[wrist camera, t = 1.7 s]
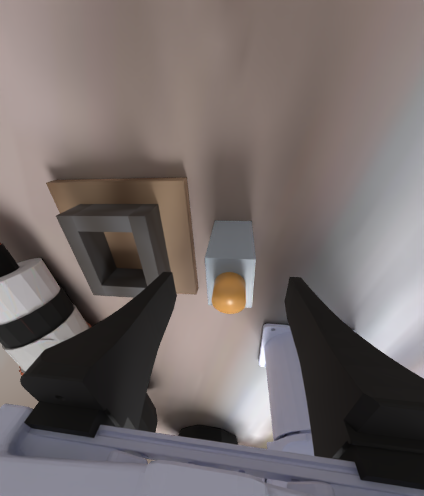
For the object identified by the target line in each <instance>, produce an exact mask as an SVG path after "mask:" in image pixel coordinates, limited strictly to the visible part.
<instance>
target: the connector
mask: <svg viewBox="0 0 424 496" xmlns="http://www.w3.org/2000/svg"><path fill="white" fill-rule="evenodd" d="M255 264H256V256H255V247H254V238H253V229H252V221H215V222H214V226H213V230H212V233H211V237H210V241H209V244H208V248H207V252H206V255H205V267H206V280H207V294H208V305H213V306H214V307H215V308H216V309H217V310H218V311H220V312H223V313H227V314H234V313H238V312H240V311H242V310H243V309H244V308H245V307H248V308H252V299H253V287H254V276H255Z"/></svg>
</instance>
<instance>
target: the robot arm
mask: <svg viewBox="0 0 424 496" xmlns="http://www.w3.org/2000/svg"><path fill="white" fill-rule="evenodd" d="M176 297H177V294H176V289H175V283H174V278H173V273H172V272H162V273H161V274H160V275H159V276H158V277H157V278H156V279H155V280H154V281H153V282H152V283H150V284H149V285H148V286H147V287H146V288H145V289H144V290H143V291H142V292H141V293H139V294H138V295H137V296H136V297H134V298H133V299H132V300H131V301H130V302H128V303H127V304H126V305H124V306H123V307H122V308H120V309H119V310H118V311H116V312H115V313H113V314H112V315H110V316H109V317H107V318H105V319H104V320H102V321H100V322H99V323H97V324H96V325H94V326H92V327H90V328H89V329H87V330H85V331H83V332H81V333H79V334H77V335H75V336H73V337H71V338H69V339H67V340H65V341H63V342H61V343H58V344H56V345H54V346H52V347H50V348H47V349H45V350H44V351H43V352H42V353H41V354H40V356H39V357H38V358H37V359H36V360H35V361H34V362H33V364H32V365H31V366H30V367H29V368H28V369H27V371H26V372H25V373H24V374H23V375H22V376H21V379H20V382H21V385H22V386H23V387H24V388H25V389H26V390H27V391H28V392H29V393H30V394H31V395H32V396H33V397H35V399H37V400H38V401H39V403H38V404H37V405H36V407H35V408H34V409H32V408H29V407H25V406H19V405H12V404H4V405H2V407H1V408H0V496H424V379H423V378H422V377H420V376H418V375H417V374H415V373H413V372H412V371H410V370H408V369H407V368H405V367H404V366H402V365H400V364H399V363H397V362H396V361H394V360H393V359H391V358H390V357H388V356H387V355H385V354H384V353H382V352H381V351H380V350H378V349H377V348H375V347H374V346H373V345H371V344H370V343H369V342H367V341H366V340H365V339H363V338H362V337H361V336H359V335H358V334H357V332H356V331H355V330H352V329H351V328H350V327H348V326H347V325H346V324H345V323H344V322H343V321H341V320H340V319H339V318H338V317H337V316H336V315H335V314H334V313H333V312H332V311H331V310H330V309H329V308H328V307H327V306H326V305H325V304H324V303H323V302H322V301H321V300H320V299H319V298H318V297H317V296H316V294H315V293H314V292H313V291H312V290H311V289H310V288H309V287H308V285H307V284H306V283H305V282H304V281H303V280H302V279H301V278H299V277H290V278H289V283H288V288H287V293H286V298H285V307H286V314H287V319H288V322H289V325H280V324H265V325H264V326H263V333H262V340H261V347H260V355H259V365H260V366H261V367H266V371H267V381H268V390H269V400H270V410H271V419H272V429H273V439H274V441H273V442H267V449H263V448H256V447H249V446H243V445H236V444H229V443H222V442H216V441H209V440H202V439H195V438H188V437H182V436H175V435H168V434H161V433H154V432H148V431H141V430H138V428H139V423H140V419H141V414H142V410H143V405H144V401H145V397H146V392H147V388H148V384H149V380H150V376H151V373H152V369H153V365H154V362H155V358H156V355H157V351H158V348H159V345H160V342H161V340H162V337H163V335H164V332H165V330H166V327H167V325H168V322H169V320H170V317H171V314H172V312H173V309H174V305H175V301H176ZM144 458H145V459H144ZM146 459H151V460H155V461H151V462H150V463H149V464H148V463H147V460H146Z"/></svg>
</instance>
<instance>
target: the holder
mask: <svg viewBox="0 0 424 496" xmlns="http://www.w3.org/2000/svg"><path fill="white" fill-rule="evenodd" d="M46 184H47V186H48V188H49V190H50V193H51V195H52V197H53V199H54V201H55V203H56V206H57V208H58V210H59V212H60V214H59V215H57V216H56V217H57V219H58V221H59V223H60V226H61V228H62V230H63V232H64V234H65V236H66V238H67V240H68V242H69V244H70V247H71V249H72V251H73V253H74V255H75V257H76V259H77V261H78V263H79V265H80V267H81V270H82V272H83V274H84V276H85V278H86V280H87V282H88V284H89V286H90V288H91V291H92V293H93V295H101V296H117V297H136V296H137V295H138V294H139V293H141V292H142V291H143V290H144V289H145V288H146V287H147V286H148V285H149V284H150V283H152V282H153V281H154V280H155V279H156V278H157V277H158V276H159V275H160V274H161V273H162V272H172V273H173V278H174V283H175V289H176V293H178V294H197V291H198V280H197V271H196V261H195V252H194V242H193V232H192V223H191V213H190V204H189V194H188V185H187V178H133V179H78V180H54V181H51V182H47V183H46Z"/></svg>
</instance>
